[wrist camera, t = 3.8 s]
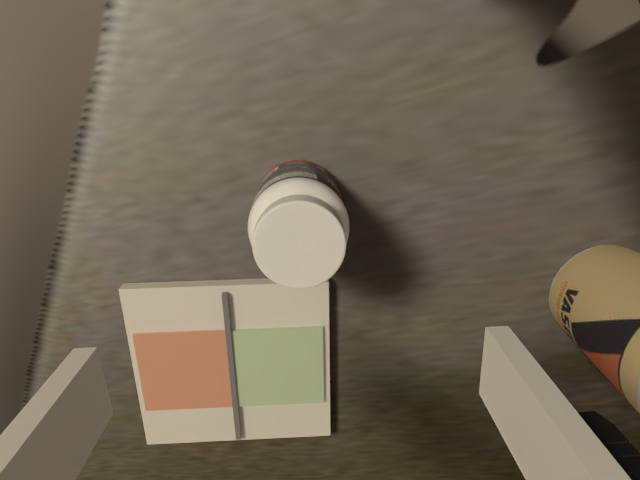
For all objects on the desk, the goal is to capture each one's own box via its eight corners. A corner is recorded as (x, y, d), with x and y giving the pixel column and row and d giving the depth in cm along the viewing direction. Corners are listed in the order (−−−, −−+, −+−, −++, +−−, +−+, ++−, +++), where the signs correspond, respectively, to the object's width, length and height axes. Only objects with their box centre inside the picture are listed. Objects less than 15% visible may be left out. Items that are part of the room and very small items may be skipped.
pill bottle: (344, 229, 32) (364, 289, 23) (267, 243, 32) (255, 309, 23) (331, 150, 30) (347, 181, 21) (249, 166, 30) (228, 203, 21)
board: (123, 283, 33) (115, 292, 31) (328, 276, 33) (329, 284, 32) (150, 435, 37) (145, 449, 36) (329, 426, 38) (330, 439, 37)
